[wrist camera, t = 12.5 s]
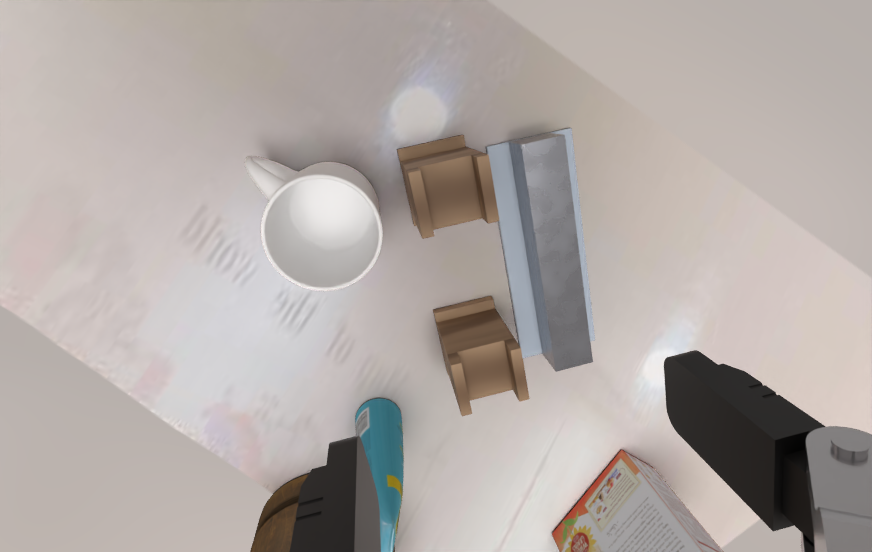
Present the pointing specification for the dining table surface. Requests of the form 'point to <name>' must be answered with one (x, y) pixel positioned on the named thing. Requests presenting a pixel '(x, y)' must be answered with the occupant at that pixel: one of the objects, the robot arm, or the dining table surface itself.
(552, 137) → the rail
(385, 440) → the tube
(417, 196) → the post
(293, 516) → the wooden container
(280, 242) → the mug
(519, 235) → the mat
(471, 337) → the post
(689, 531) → the cracker box
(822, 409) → the dining table surface
